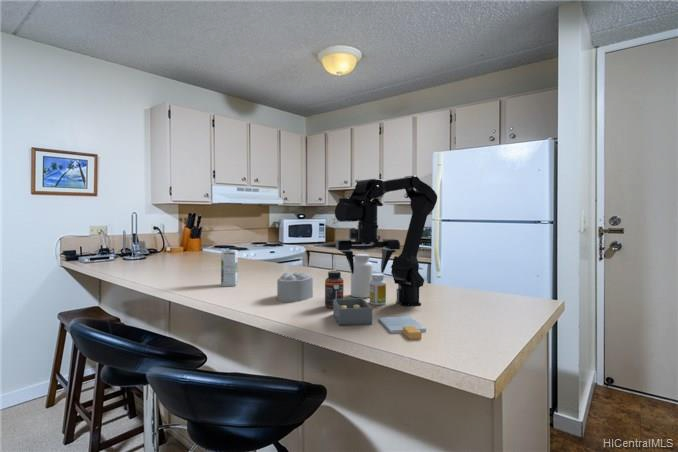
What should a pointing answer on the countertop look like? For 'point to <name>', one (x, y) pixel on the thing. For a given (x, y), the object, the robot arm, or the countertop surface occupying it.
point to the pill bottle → (361, 276)
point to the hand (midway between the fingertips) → (367, 272)
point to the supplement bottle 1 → (333, 288)
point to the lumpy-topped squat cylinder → (294, 287)
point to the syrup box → (229, 268)
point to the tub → (352, 312)
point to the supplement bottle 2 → (377, 289)
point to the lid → (403, 326)
